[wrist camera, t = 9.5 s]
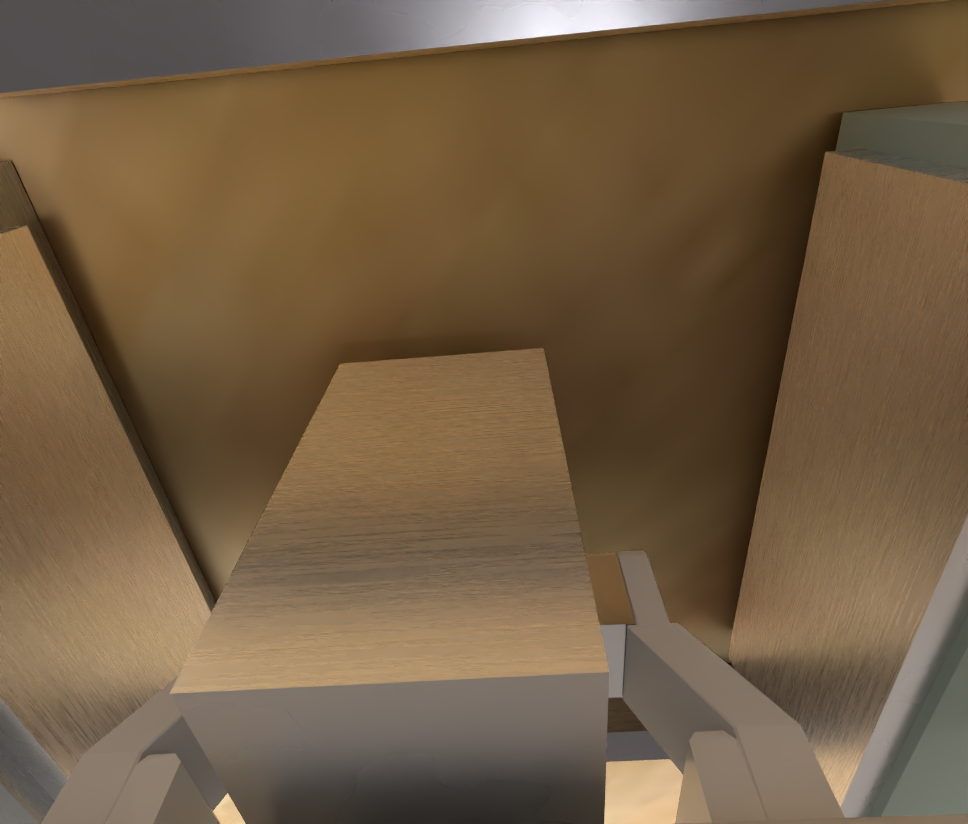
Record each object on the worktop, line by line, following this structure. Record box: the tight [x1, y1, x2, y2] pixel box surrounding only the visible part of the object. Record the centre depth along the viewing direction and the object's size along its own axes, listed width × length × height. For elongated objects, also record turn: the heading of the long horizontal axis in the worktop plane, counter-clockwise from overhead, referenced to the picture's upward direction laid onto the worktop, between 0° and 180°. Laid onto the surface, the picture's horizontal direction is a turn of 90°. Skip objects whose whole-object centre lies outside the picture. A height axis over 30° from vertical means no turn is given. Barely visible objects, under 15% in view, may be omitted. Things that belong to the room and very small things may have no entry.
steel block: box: [169, 348, 609, 824], centre depth 10 cm, size 4×7×7 cm, turn 5°
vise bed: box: [0, 0, 949, 824], centre depth 11 cm, size 24×20×6 cm
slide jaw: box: [728, 101, 968, 818], centre depth 11 cm, size 3×14×6 cm, turn 5°
